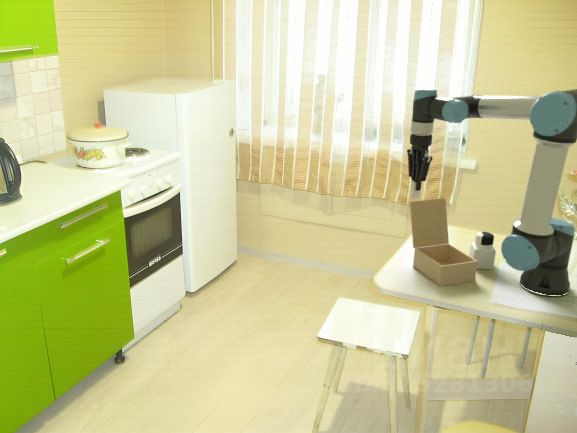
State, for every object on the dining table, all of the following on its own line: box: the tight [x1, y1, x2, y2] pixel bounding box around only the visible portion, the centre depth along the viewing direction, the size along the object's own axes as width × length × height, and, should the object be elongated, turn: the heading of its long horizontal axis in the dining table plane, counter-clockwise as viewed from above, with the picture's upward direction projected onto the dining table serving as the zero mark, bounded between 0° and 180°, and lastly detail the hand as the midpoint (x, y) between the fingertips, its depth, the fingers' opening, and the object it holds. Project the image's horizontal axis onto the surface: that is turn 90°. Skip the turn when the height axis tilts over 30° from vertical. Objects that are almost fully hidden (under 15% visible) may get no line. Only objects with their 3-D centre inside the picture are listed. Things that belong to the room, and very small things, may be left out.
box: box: [412, 243, 478, 287], centre depth 208 cm, size 16×14×7 cm
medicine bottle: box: [469, 231, 497, 271], centre depth 214 cm, size 7×7×12 cm
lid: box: [409, 197, 450, 249], centre depth 214 cm, size 16×14×1 cm
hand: (415, 198), depth 221 cm, fingers closed
